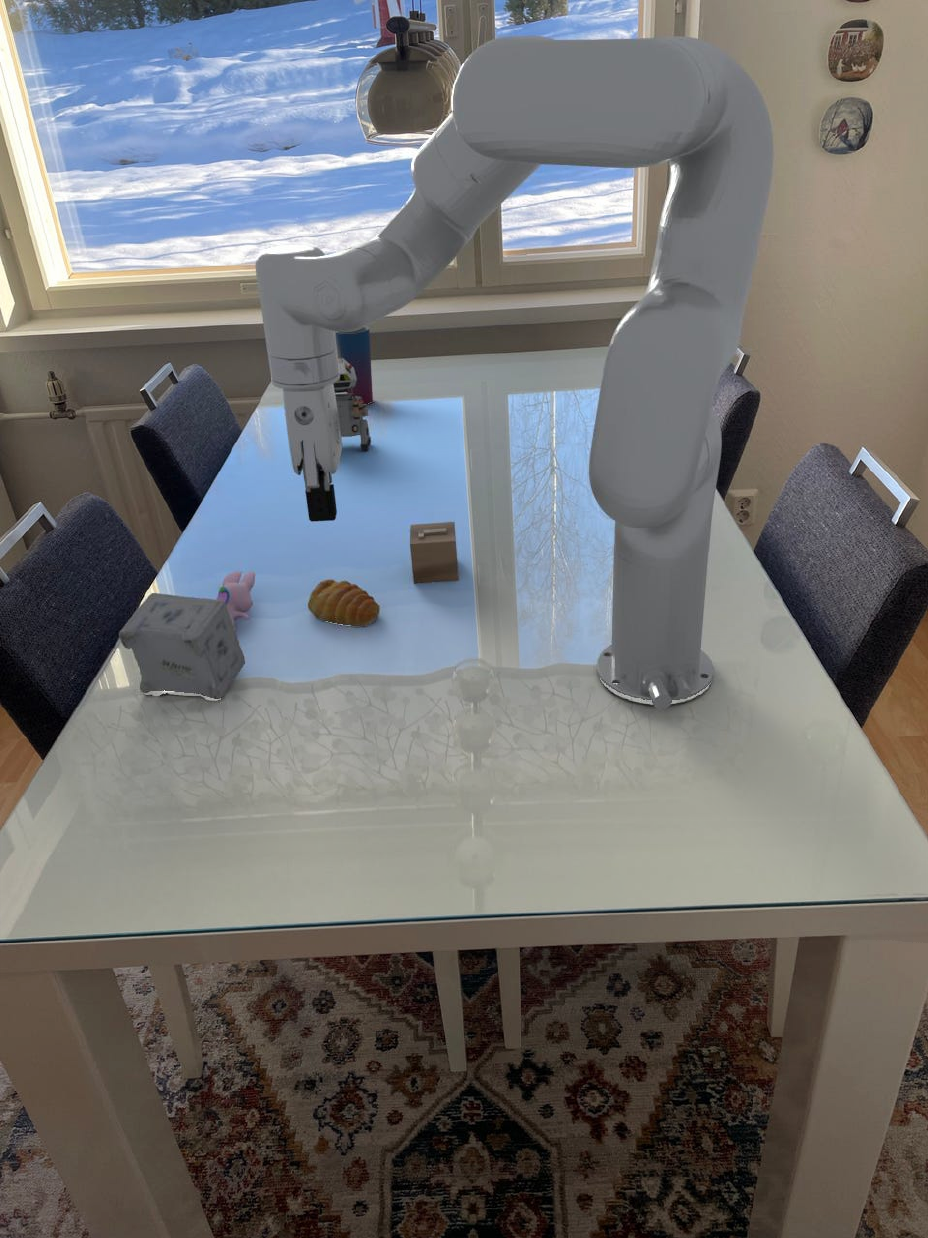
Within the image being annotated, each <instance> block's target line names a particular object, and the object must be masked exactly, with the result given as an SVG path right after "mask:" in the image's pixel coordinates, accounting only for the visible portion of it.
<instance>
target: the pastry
mask: <svg viewBox="0 0 928 1238" xmlns="http://www.w3.org/2000/svg"><path fill="white" fill-rule="evenodd" d="M307 608H308V610H309V611H310V613H311V614H312V615H313V616H314V617H315V619H317V620H318V619H319V620H321V621H323V622H324V621H328V622H332V623H337V624H343V625H351V626H357V627H366V626H368V625H371V624H372V623H373V622H374V621H376V620H377V619H378V617H379V613H380V604H378V603H377V602H376V600H375V598H374V597H373V596H372V595H369V593H368V592H367V590H363V588H361V587H359V586H358V585H357V584H356V583H354V584H353V583H351V582H349V581H347V580H341V581H339V582H338V581H336V580H335V579H332V578H331V579H325V580H322V581H321V582H319V583H318V584H317V585H316V587H315V588H313V590H312V592H311V593H310V596H309V599H308V603H307ZM365 625H366V626H365Z"/></svg>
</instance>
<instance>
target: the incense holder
mask: <svg viewBox="0 0 928 1238" xmlns="http://www.w3.org/2000/svg"><path fill="white" fill-rule="evenodd" d="M118 637H119V640H120V642H121V645H122V646H123V647H124V648H125V649H127V650H130V649H131V650H132V653H133V655H134V659H135V661H136V663H137V667H138V668H139V674H140V675H141V679H140V682H139V690H140V692H141V693H142V692H143V693H148V692H150V691H164V690H165V691H175V692H184V693H194V694H195V693H196V694H201V695H203V696H207V697H210V698H214V699H220V698H221V697H222V696H223V695H224V694H225V695H226V692H227V691H228V689H229V688H230V686H231V685H232V683H233V682H234V680H235V679H236V677H237V676H238V675H239V673H240V672H241V670H242V669H243V667H244V665H245V664H246V660H245V656H244V652H243V650H242V648H241V646H240V641H239V639H238V636H237V632H236V633H235V630H234V628H233V624H232V620H231V618H230V616H229V613H228V609H227V606H226V604H225V603H224V602H223V601H221V600H215V599H214V598H204V597H203V598H201V597H192V596H191V597H190V596H180V595H176V594H175V595H174V594H169V593H168V594H167V593H159V592H158V593H157V592H152V593H150V594H149V595H148V596H147V597H146V599H145V600H144V601H143V602H142V603H141V604H140V605H139V607H138V608H137V609H136V610H135V611H134V613H133V614H132V616H131V617H130V618H129V619H128V620H127V622H126V623H125V624H124V626H123V627H122V629H121V630H119V633H118ZM225 695H224V696H225ZM224 696H223V697H224ZM223 697H222V698H223Z"/></svg>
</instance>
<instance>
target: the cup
mask: <svg viewBox="0 0 928 1238" xmlns="http://www.w3.org/2000/svg"><path fill="white" fill-rule="evenodd" d="M370 334H371V333H370V327H369V326H368V325H367V326H365V327H363V328H361V329H359V330H356V331H352V332H337V331H335V335H336V344H337V350H338V353H339V354H338V355H339V358H343V359H344V360H346V361H347V362H348V363H349V364H350V365H351V366H352V367H353V368H354V370H355V371H356V372H357V375H356V378H357V381H356V384H355V387H354V389H353V394H354V396H358V397H362V400H363V401H362V404H368V403H370V402H372V401H373V402H374V395H373V393H374V392H373V377H372V376H373V375H372V360H371V359H372V358H371V357H372V355H371V340H370V339H371V337H370ZM346 394H351V389H348V392H346ZM373 402H372V403H373Z"/></svg>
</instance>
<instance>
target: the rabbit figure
mask: <svg viewBox="0 0 928 1238" xmlns="http://www.w3.org/2000/svg"><path fill="white" fill-rule="evenodd" d="M242 574H243V571H242V570H237V571H232V572H229V573H228V574H227V575H226V576H225V578H224V579H223V581H222V586H221V587H219V589H218V593H217V594H218V595H217V597H216V598H215V599H214V600H221V601H223V602H224V603H225V604H226V606H227V609H228V613H229V616H230V618H231V620H232V624H233V628H234V630H235V633H236V634H237V632H236V631H237V628H236V619H237V618H244V620H245V621H249V620H250V619H251V618H250V616H249V615H248V614H246V613H247V612H249V611H250V609H252V607H253V605H254V601H253V598H252V596H251V591H252V590H253V587H254V585H255V581H256V573H255V571H253V570H249V571H248V572H246V573H245V574H243V576H242ZM241 577H242V578H241Z"/></svg>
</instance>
